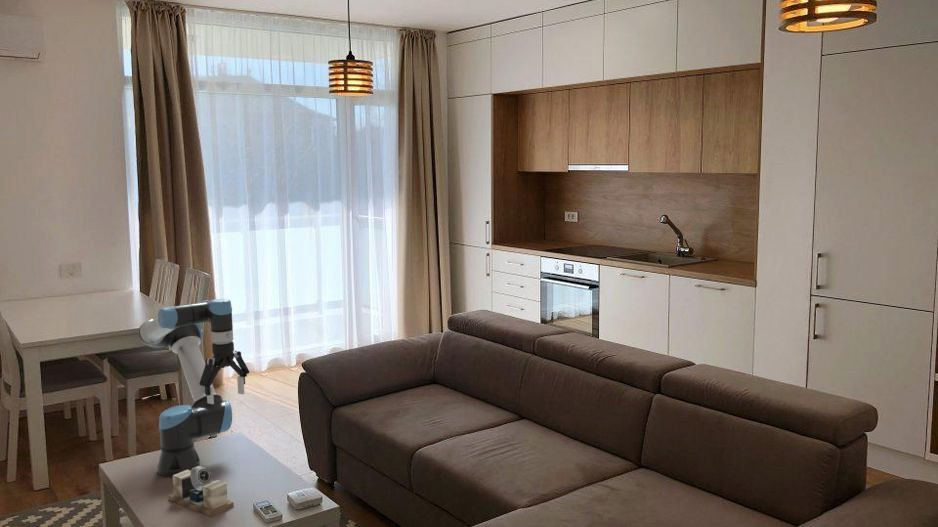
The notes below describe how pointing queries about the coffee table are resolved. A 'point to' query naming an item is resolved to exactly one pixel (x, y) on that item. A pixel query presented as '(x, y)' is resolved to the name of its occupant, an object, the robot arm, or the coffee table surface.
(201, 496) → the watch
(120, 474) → the coffee table surface
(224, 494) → the rail
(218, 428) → the robot arm
